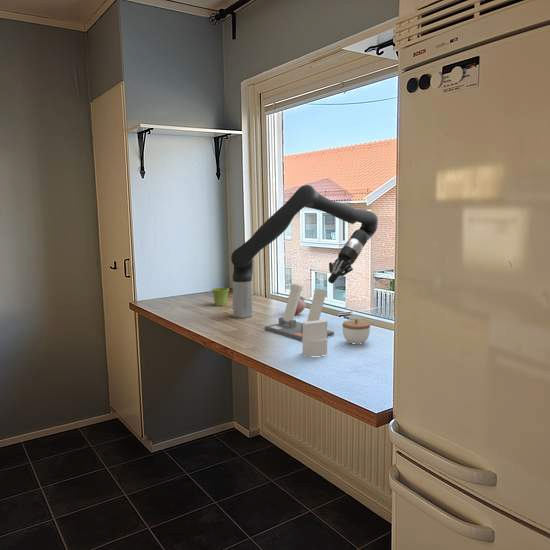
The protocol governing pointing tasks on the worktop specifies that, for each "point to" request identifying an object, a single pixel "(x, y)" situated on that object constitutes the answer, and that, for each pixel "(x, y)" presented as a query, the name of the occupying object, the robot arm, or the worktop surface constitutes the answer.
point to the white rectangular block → (315, 338)
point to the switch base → (290, 329)
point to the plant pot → (220, 296)
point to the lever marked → (316, 305)
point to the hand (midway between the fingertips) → (330, 282)
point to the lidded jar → (356, 331)
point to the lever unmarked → (292, 303)
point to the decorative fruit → (300, 305)
